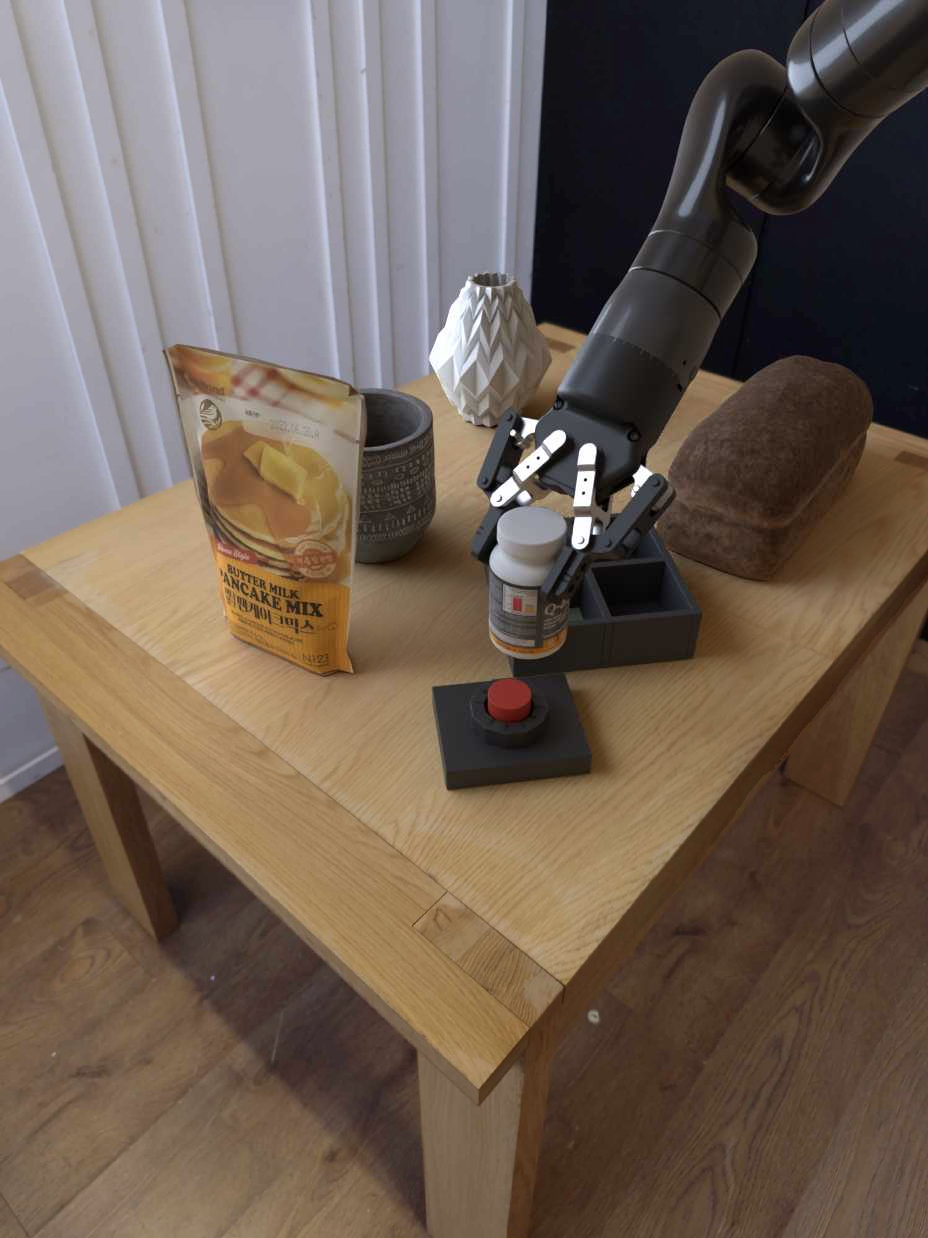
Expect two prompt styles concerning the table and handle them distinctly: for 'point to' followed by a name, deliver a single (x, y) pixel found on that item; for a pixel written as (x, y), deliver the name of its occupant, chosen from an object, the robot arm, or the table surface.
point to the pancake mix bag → (276, 497)
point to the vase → (490, 350)
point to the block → (509, 735)
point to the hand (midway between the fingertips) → (513, 579)
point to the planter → (395, 475)
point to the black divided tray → (623, 613)
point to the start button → (509, 701)
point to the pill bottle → (526, 583)
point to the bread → (766, 466)
